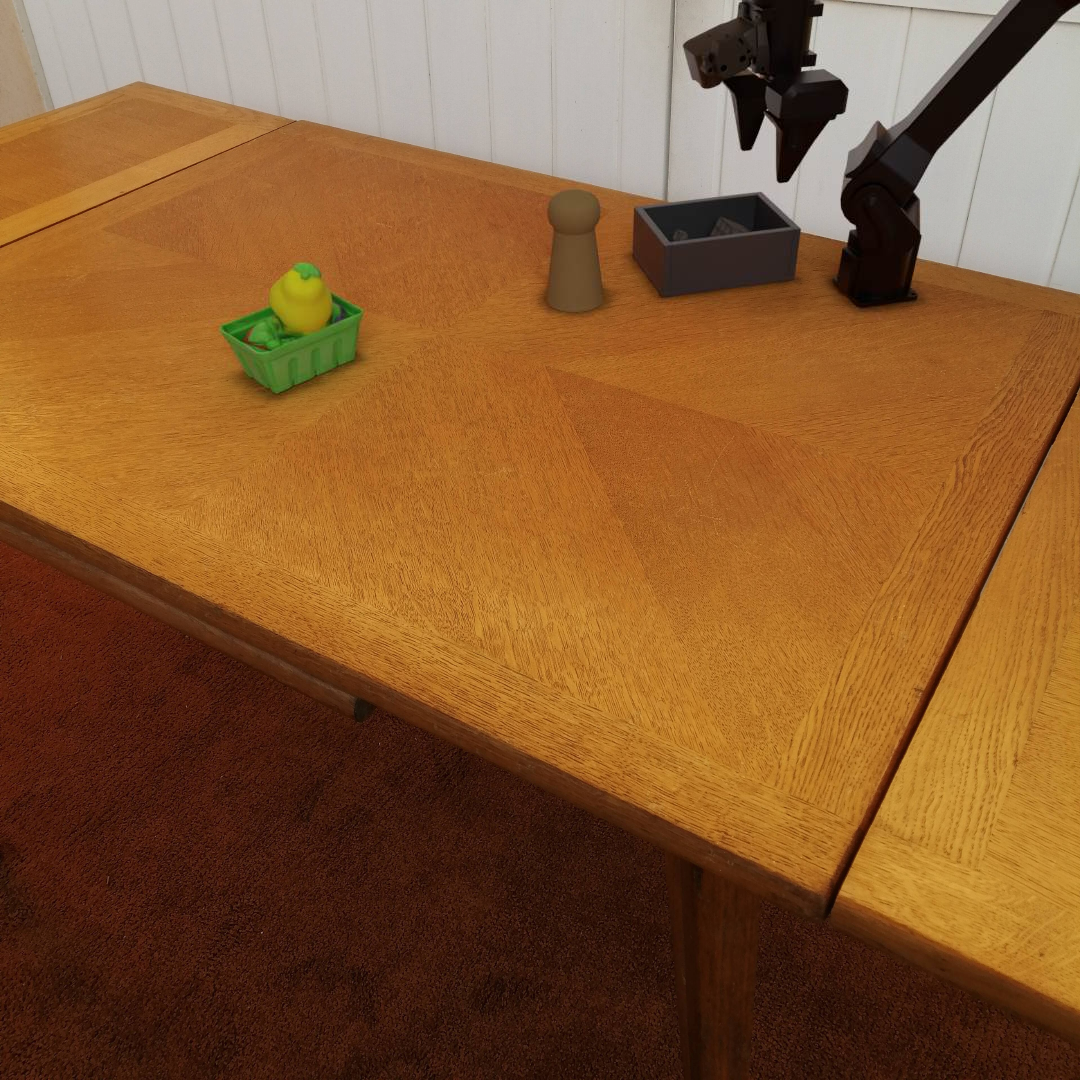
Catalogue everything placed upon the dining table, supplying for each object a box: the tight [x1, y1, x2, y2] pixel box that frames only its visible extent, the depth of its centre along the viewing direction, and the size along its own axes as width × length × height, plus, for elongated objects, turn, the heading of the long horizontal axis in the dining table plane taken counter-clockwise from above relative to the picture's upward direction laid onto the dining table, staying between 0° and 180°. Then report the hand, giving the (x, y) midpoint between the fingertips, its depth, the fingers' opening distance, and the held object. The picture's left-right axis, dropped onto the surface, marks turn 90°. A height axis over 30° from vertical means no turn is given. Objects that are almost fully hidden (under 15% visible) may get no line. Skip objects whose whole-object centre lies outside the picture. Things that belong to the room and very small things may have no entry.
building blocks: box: [672, 217, 750, 241], centre depth 107 cm, size 3×6×8 cm
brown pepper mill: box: [545, 188, 605, 313], centre depth 100 cm, size 6×6×11 cm
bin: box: [632, 191, 802, 298], centre depth 107 cm, size 15×11×6 cm
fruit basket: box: [219, 261, 364, 395], centre depth 91 cm, size 11×9×11 cm
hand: (763, 165), depth 98 cm, fingers open, 9 cm apart
